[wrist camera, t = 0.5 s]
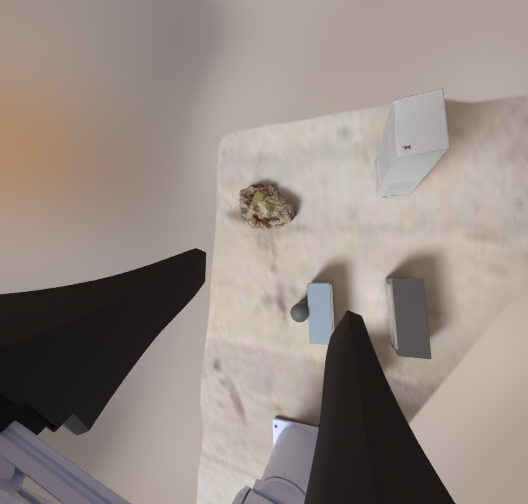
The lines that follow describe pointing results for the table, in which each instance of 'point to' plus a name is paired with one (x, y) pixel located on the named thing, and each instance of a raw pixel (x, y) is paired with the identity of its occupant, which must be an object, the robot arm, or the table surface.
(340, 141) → the table surface
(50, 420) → the robot arm
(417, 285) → the grey block
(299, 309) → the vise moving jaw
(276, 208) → the mineral rock
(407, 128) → the skincare box
